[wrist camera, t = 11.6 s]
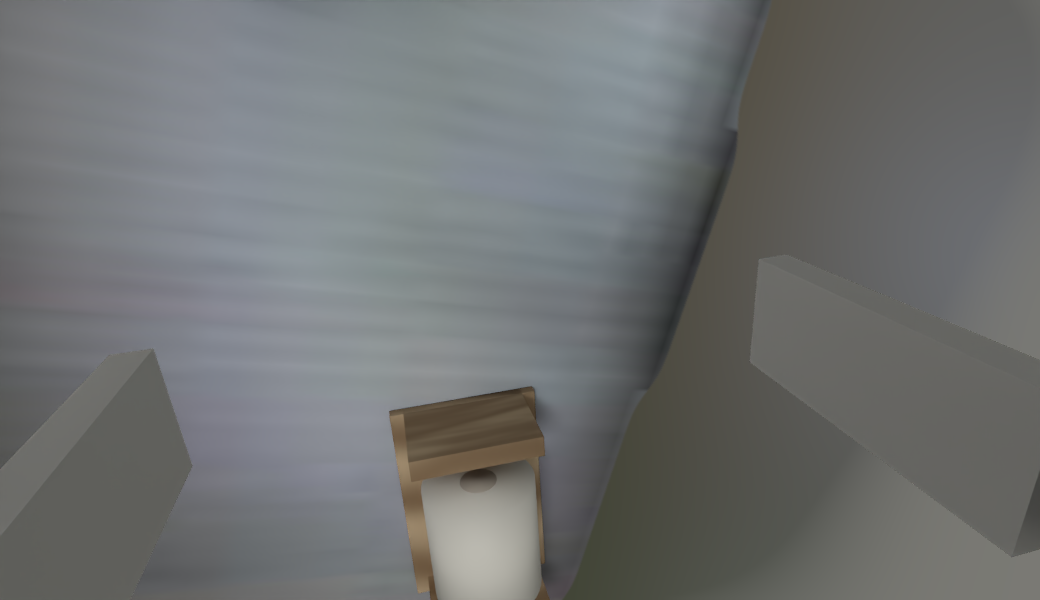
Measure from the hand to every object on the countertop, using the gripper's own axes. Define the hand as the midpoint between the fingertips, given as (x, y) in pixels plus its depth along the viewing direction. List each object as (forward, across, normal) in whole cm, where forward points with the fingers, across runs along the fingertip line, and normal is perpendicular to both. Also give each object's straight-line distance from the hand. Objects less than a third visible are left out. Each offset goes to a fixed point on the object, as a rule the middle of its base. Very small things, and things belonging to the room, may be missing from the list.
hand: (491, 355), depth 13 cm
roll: (+26, +2, -25) cm, 36 cm away
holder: (+27, +1, -26) cm, 37 cm away
